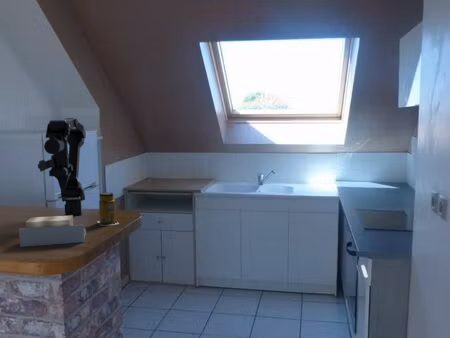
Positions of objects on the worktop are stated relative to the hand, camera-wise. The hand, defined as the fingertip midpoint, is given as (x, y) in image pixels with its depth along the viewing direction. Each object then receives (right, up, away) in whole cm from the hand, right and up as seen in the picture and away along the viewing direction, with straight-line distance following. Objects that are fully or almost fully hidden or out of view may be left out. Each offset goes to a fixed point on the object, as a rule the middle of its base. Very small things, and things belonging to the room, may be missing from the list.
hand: (62, 191), depth 176 cm
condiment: (+18, -13, +1) cm, 22 cm away
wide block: (+4, -16, -23) cm, 28 cm away
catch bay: (+5, -16, -21) cm, 27 cm away
